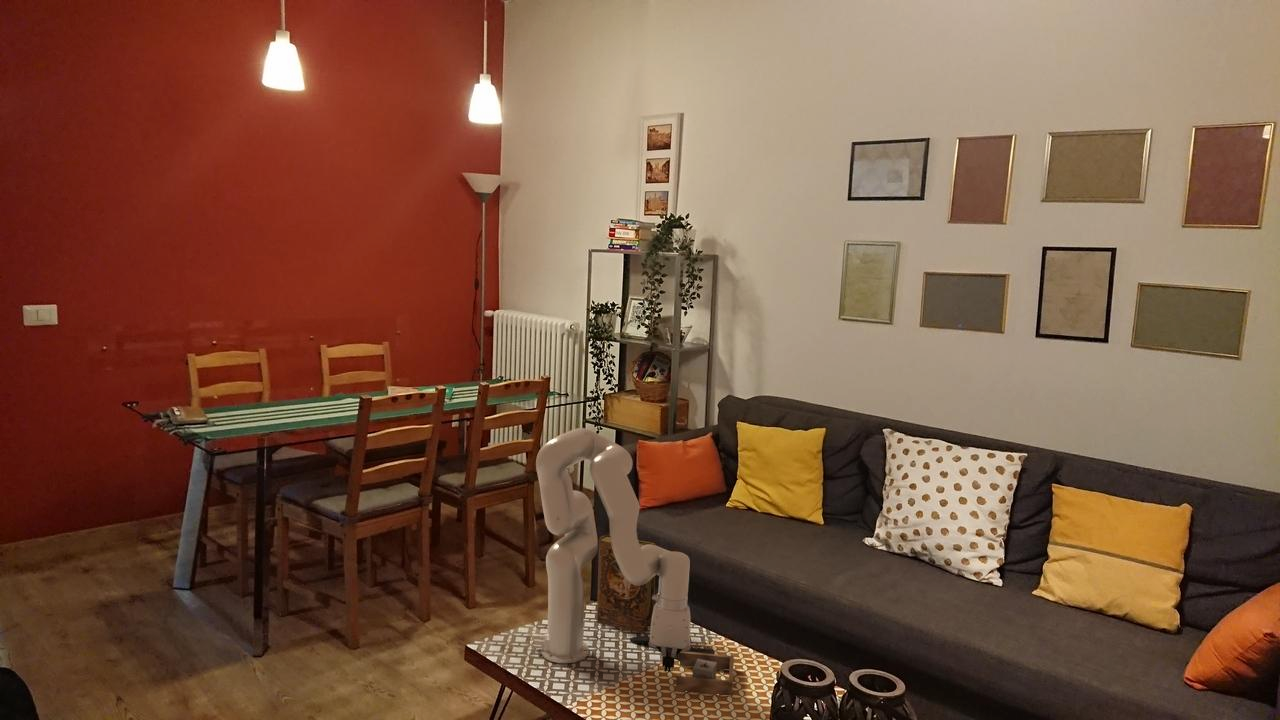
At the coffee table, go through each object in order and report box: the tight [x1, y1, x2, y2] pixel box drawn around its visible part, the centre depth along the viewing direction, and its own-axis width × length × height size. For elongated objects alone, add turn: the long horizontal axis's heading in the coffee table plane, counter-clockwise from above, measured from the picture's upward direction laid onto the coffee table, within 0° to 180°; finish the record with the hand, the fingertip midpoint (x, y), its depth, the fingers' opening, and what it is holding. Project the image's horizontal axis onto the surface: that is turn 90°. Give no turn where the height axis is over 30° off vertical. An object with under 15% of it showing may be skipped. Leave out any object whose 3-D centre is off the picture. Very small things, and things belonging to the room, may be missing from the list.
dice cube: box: [692, 659, 718, 679], centre depth 209 cm, size 5×5×5 cm
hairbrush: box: [629, 635, 716, 662], centre depth 226 cm, size 8×4×25 cm
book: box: [596, 534, 657, 634], centre depth 240 cm, size 16×6×25 cm, turn 66°
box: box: [675, 651, 735, 697], centre depth 211 cm, size 14×14×4 cm
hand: (667, 669), depth 213 cm, fingers closed
